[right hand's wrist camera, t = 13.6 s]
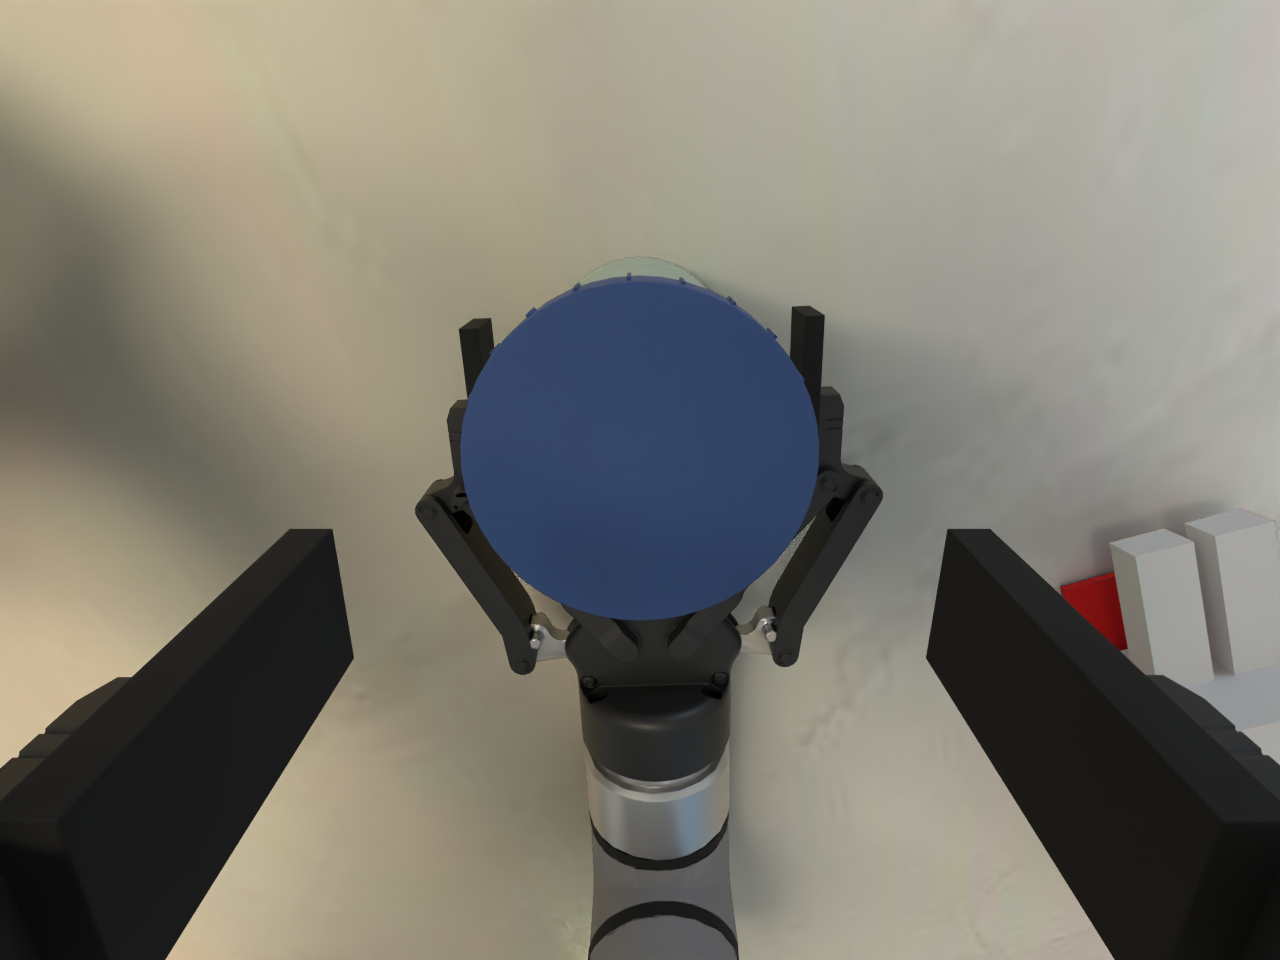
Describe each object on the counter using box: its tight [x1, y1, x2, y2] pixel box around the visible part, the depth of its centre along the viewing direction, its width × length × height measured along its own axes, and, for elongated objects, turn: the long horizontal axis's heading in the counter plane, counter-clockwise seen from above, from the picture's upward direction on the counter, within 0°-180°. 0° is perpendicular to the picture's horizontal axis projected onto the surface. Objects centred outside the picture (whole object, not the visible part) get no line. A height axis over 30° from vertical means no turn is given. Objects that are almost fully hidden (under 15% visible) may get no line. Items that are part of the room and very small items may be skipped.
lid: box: [460, 273, 819, 620], centre depth 21 cm, size 10×10×2 cm
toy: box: [1061, 509, 1280, 765], centre depth 40 cm, size 12×13×30 cm
